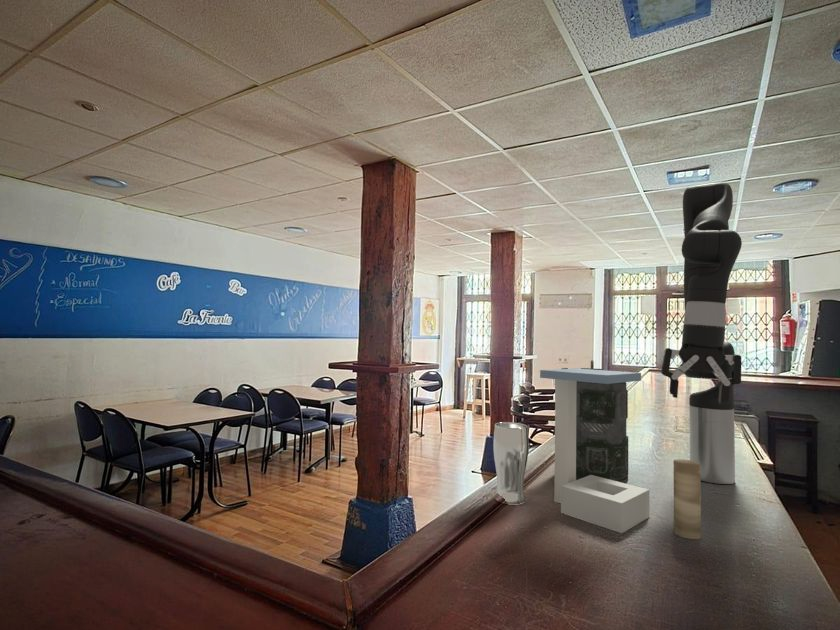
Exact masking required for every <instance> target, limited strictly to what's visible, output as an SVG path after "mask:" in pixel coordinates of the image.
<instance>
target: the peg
mask: <svg viewBox="0 0 840 630" xmlns="http://www.w3.org/2000/svg"><path fill="white" fill-rule="evenodd" d="M672 463H673V533H674V534H675V535H677V536H679V537H681V538H684V539H690V540H700V539H702V485H701V484H702V481H701V464H700V463H698V462H695V461H690V459H689V460H688V459H681V458H680V459H679V458H678V459H673V462H672Z"/></svg>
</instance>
